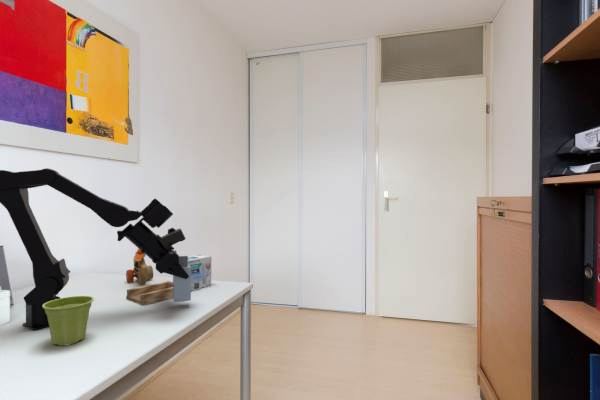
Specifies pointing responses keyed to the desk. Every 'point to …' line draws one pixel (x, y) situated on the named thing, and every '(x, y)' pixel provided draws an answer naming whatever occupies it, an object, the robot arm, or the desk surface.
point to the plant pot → (68, 318)
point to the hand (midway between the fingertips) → (186, 276)
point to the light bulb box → (200, 271)
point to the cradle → (151, 293)
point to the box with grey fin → (182, 282)
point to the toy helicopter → (139, 269)
